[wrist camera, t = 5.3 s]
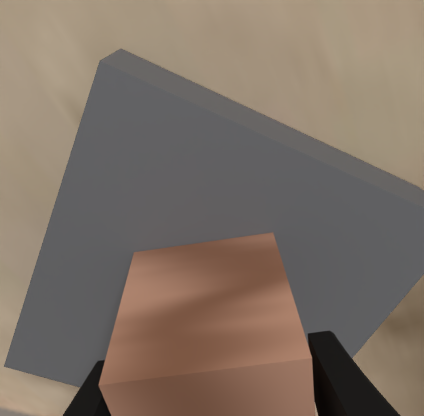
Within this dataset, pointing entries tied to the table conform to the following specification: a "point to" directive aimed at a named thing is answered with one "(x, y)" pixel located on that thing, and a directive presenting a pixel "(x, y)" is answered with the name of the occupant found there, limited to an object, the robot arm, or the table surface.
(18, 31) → the table surface
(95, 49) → the table surface
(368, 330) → the charcoal plinth
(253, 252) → the terracotta cube
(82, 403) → the robot arm
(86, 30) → the table surface
